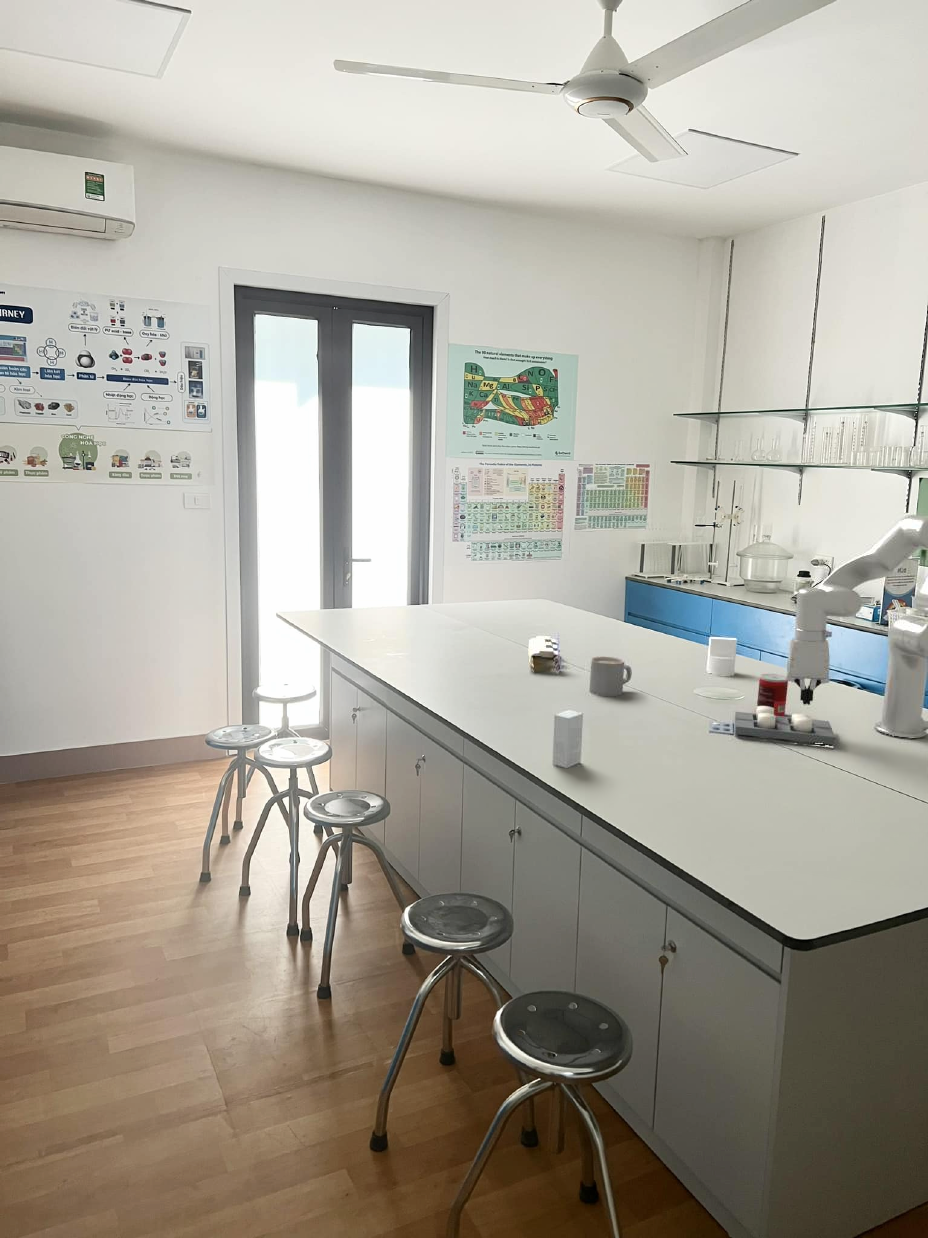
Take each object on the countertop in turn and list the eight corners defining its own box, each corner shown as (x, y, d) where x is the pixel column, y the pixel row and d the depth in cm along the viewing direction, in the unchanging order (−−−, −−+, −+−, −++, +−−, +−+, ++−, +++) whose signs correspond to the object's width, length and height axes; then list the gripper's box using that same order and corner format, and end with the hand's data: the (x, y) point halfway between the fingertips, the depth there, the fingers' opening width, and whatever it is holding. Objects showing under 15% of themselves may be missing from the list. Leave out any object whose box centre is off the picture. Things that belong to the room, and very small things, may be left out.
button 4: (810, 728, 235) (811, 717, 234) (812, 733, 231) (813, 722, 230) (792, 726, 236) (793, 715, 235) (793, 731, 232) (795, 720, 231)
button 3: (807, 725, 242) (808, 714, 241) (809, 730, 238) (810, 719, 237) (790, 723, 243) (791, 713, 242) (791, 728, 239) (792, 717, 238)
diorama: (561, 674, 298) (563, 635, 295) (529, 673, 298) (531, 634, 296) (557, 658, 322) (559, 622, 320) (528, 657, 323) (529, 621, 320)
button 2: (774, 724, 237) (775, 713, 237) (775, 729, 233) (776, 718, 232) (756, 723, 238) (757, 712, 238) (757, 727, 234) (758, 716, 234)
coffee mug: (595, 696, 270) (597, 664, 269) (585, 688, 280) (586, 656, 278) (638, 695, 273) (640, 663, 271) (625, 687, 283) (628, 656, 281)
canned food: (783, 712, 261) (787, 674, 259) (785, 719, 253) (789, 681, 251) (755, 709, 263) (759, 672, 261) (756, 716, 255) (760, 678, 253)
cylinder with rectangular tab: (731, 670, 311) (734, 636, 309) (736, 676, 302) (739, 641, 300) (704, 669, 312) (707, 635, 310) (708, 675, 303) (711, 640, 301)
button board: (827, 732, 242) (828, 721, 242) (834, 748, 228) (835, 737, 228) (709, 719, 250) (710, 709, 250) (709, 734, 236) (710, 723, 236)
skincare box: (565, 758, 213) (568, 709, 211) (581, 762, 211) (584, 713, 209) (551, 764, 209) (553, 714, 207) (566, 769, 206) (569, 718, 204)
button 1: (772, 717, 244) (773, 707, 243) (773, 722, 240) (774, 711, 239) (755, 715, 245) (756, 705, 245) (756, 720, 241) (757, 709, 240)
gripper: (839, 633, 238) (834, 701, 241) (779, 631, 242) (775, 698, 245) (842, 639, 230) (838, 709, 234) (780, 637, 234) (777, 705, 238)
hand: (806, 703), depth 239 cm, fingers closed
